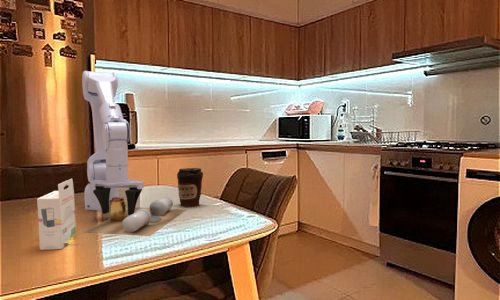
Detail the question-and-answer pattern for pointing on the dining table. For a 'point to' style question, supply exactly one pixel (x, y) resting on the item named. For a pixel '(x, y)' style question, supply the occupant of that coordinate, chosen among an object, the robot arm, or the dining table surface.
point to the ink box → (56, 217)
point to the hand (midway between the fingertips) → (118, 213)
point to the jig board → (148, 230)
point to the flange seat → (155, 219)
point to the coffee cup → (189, 186)
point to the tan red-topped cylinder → (118, 209)
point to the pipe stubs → (146, 214)
